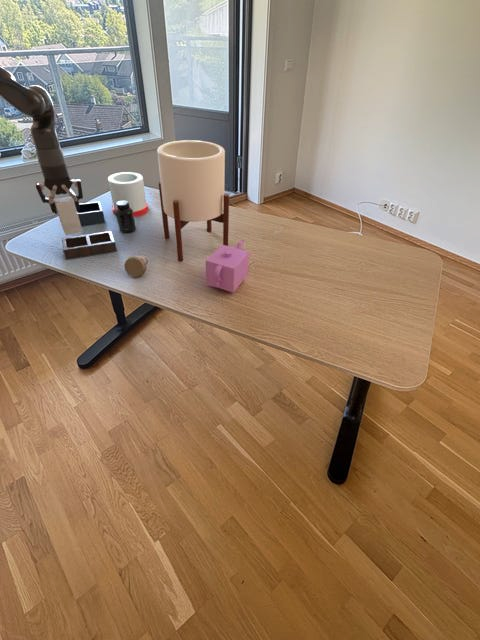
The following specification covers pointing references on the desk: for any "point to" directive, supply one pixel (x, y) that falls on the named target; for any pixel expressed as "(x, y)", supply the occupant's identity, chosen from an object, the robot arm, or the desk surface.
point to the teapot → (227, 267)
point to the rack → (88, 245)
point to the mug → (136, 265)
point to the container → (128, 191)
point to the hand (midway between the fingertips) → (66, 211)
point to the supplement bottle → (125, 217)
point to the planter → (192, 186)
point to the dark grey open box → (90, 214)
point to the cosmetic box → (68, 215)
